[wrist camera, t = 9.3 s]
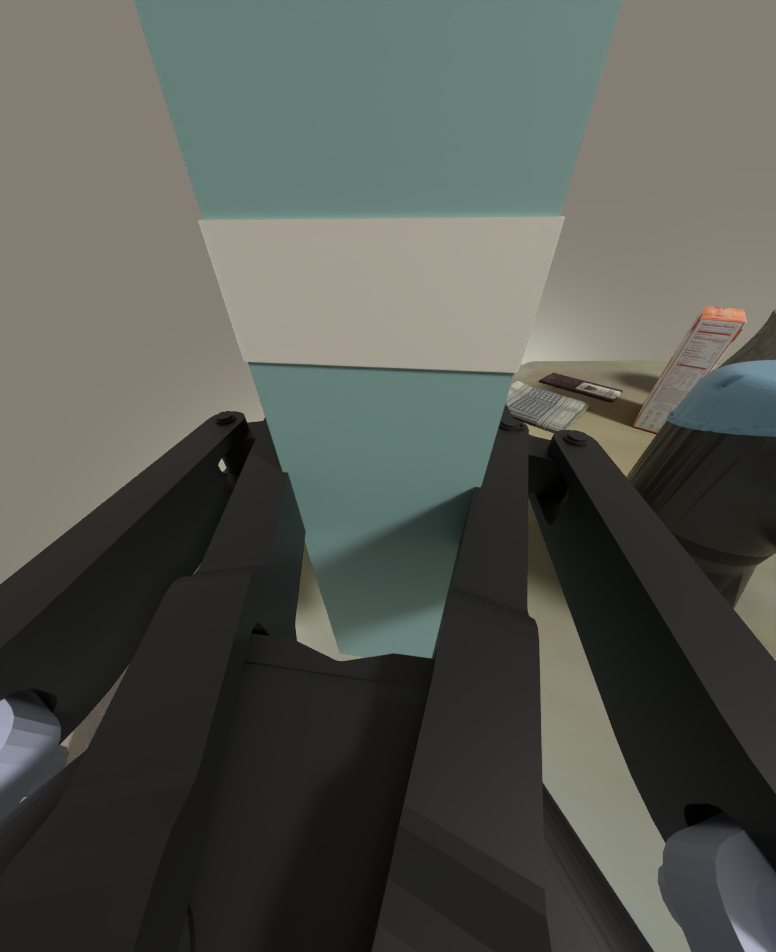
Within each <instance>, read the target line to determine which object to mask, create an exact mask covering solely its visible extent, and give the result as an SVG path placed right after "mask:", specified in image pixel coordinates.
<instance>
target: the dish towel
mask: <svg viewBox="0 0 776 952" xmlns="http://www.w3.org/2000/svg"><path fill="white" fill-rule="evenodd" d="M506 405H507V406H508V409H509V410H510V413H511V415H512V417H513V418H514V419H517V420H520V421H523V422H525V423H528V424H530V425H533V426H536V427H538V428H541V429H544V430H547V431H550V432H553V433H555V432H557V431H560V430H565V429H566V428H567V427H568V426H569V425H570V424H572V423H573V422H574V421H576V420H577V419H578V418H579V417H580V416H581V415H582V414H584V413H585V412H586V410H587V409H588V408H589V407H590V405H589V404H587V403H586V402H584V401H582V400H578V399H575V398H570V397H567V396H564V395H562V394H559V393H557V392H553V391H550V390H546V389H543V388H541V387H539V386H536V385H534V386H532V387H531V386H529V385H526V384H524V383H522V382H520V381H516V382H514V383H513V384H512V385H511V386H510V389H509V393H508V396H507V400H506Z"/></svg>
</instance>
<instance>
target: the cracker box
mask: <svg viewBox="0 0 776 952" xmlns="http://www.w3.org/2000/svg"><path fill="white" fill-rule="evenodd" d="M746 323H747V321H746V317H745V313H744V310H741V309H730V308H722V307H704V308H703V309H702V311H701V312H700V314H699V315H698V317H697V318H696V320H695V321H694V323H693V324H692V326H691V328H690V329H689V331H688V332H687V334H686V336H685V337H684V339H683V341H682V342H681V344H680V345H679V347H678V349H677V350H676V352H675V353H674V355H673V357H672V358H671V360H670V361H669V363H668V365H667V366H666V368H665V370H664V371H663V373H662V375H661V376H660V378H659V379H658V381H657V383H656V384H655V386H654V388H653V389H652V391H651V392H650V394H649V396H648V397H647V399H646V401H645V402H644V404H643V406H642V408H641V410H640V412H639V414H638V415H637V417H636V420H635V422H634V424H633V426H632V427H635V428H638V429H642V430H646V431H649V432H653V433H656V434H658V432H659V431H660V429H661V428H662V427H663V425H664V424H665V422H666V421H667V416H668V414H669V413H670V412H671V411H672V410H673V409H675V408H676V407H677V406H678V405H679V404H680V402H681V401H682V400H683V399H684V398H685V396H686V395H687V394H688V393H689V392H690V390H691V389H692V388H693V387H694V386H695V384H696V383H697V382H698V381H699V380H700V379H701V378H702V377H704V376H705V375H706V374H708V373H710V372H711V371H712V370H713V368H714V367H715V366H716V364H717V363H718V361H719V360H720V359H721V357H722V356H723V355H724V353H725V352H726V351H727V349H728V348H729V347H730V345H731V344H732V343H733V341H734V340H735V338H736V337H737V336H738V334H739V333H740V332H741V331H742V329H743V328H744V326H745V325H746Z"/></svg>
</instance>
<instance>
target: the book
mask: <svg viewBox="0 0 776 952" xmlns="http://www.w3.org/2000/svg"><path fill="white" fill-rule="evenodd" d="M622 2H623V0H134V3H135V6H136V9H137V12H138V15H139V19H140V22H141V25H142V28H143V31H144V34H145V37H146V41H147V44H148V47H149V50H150V53H151V57H152V59H153V63H154V66H155V69H156V72H157V75H158V79H159V82H160V85H161V88H162V91H163V94H164V98H165V101H166V104H167V107H168V110H169V114H170V117H171V120H172V123H173V126H174V129H175V133H176V136H177V139H178V142H179V145H180V148H181V152H182V155H183V158H184V161H185V164H186V167H187V170H188V174H189V177H190V180H191V183H192V186H193V190H194V193H195V196H196V199H197V202H198V205H199V208H200V212H201V215H202V218H203V220H198V222H199V225H200V228H201V231H202V234H203V237H204V240H205V243H206V247H207V250H208V253H209V256H210V259H211V262H212V265H213V268H214V271H215V274H216V277H217V281H218V284H219V287H220V290H221V293H222V296H223V299H224V302H225V305H226V308H227V311H228V314H229V317H230V320H231V324H232V326H233V330H234V333H235V336H236V339H237V342H238V345H239V348H240V351H241V354H242V357H243V361H244V362H248V364H249V367H250V370H251V373H252V376H253V379H254V383H255V386H256V389H257V392H258V395H259V398H260V402H261V405H262V408H263V411H264V414H265V417H266V421H267V424H268V427H269V430H270V433H271V436H272V440H273V443H274V446H275V449H276V452H277V455H278V459H279V462H280V465H281V468H282V471H283V472H288V474H289V478H290V481H291V484H292V488H293V491H294V494H295V498H296V501H297V504H298V508H299V511H300V514H301V518H302V521H303V524H304V528H305V531H306V534H305V544H306V547H307V550H308V554H309V557H310V560H311V563H312V566H313V569H314V573H315V576H316V579H317V582H318V585H319V588H320V592H321V595H322V598H323V601H324V604H325V607H326V611H327V614H328V617H329V620H330V623H331V626H332V630H333V633H334V636H335V639H336V642H337V645H338V649H339V652H340V654H348V655H355V656H362V657H374V656H380V655H386V654H392V653H396V654H403V655H411V656H418V657H425V658H431V657H432V654H433V650H434V647H435V643H436V639H437V635H438V631H439V627H440V622H441V618H442V614H443V610H444V606H445V601H446V597H447V593H448V589H449V585H450V580H451V576H452V572H453V568H454V564H455V559H456V555H457V551H458V547H459V543H460V539H461V536H462V532H463V528H464V525H465V521H466V517H467V514H468V510H469V506H470V502H471V499H472V495H473V491H474V488H475V487H481V485H482V482H483V479H484V475H485V472H486V468H487V465H488V461H489V458H490V455H491V451H492V448H493V444H494V441H495V437H496V434H497V431H498V427H499V424H500V420H501V417H502V413H503V410H504V407H505V403H506V400H507V396H508V393H509V389H510V386H511V383H512V379H513V376H514V373H518V372H519V369H520V365H521V362H522V358H523V355H524V352H525V349H526V345H527V342H528V339H529V335H530V332H531V329H532V325H533V322H534V319H535V315H536V312H537V308H538V305H539V302H540V299H541V295H542V292H543V289H544V285H545V282H546V278H547V275H548V272H549V268H550V265H551V262H552V259H553V255H554V252H555V249H556V245H557V242H558V239H559V236H560V232H561V229H562V225H563V222H564V219H565V217H560V214H561V211H562V207H563V204H564V201H565V197H566V194H567V190H568V187H569V183H570V180H571V176H572V173H573V170H574V166H575V163H576V159H577V156H578V152H579V149H580V146H581V142H582V139H583V135H584V132H585V128H586V125H587V121H588V118H589V114H590V111H591V108H592V105H593V101H594V97H595V94H596V91H597V87H598V84H599V80H600V77H601V73H602V70H603V67H604V63H605V60H606V56H607V53H608V50H609V46H610V43H611V39H612V36H613V32H614V29H615V26H616V22H617V19H618V15H619V12H620V8H621V4H622Z"/></svg>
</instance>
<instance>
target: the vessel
mask: <svg viewBox="0 0 776 952" xmlns="http://www.w3.org/2000/svg"><path fill="white" fill-rule="evenodd" d="M760 360H776V310H774V311H773V312H772V314H771V315H770V317H769V319H768V321H767V322H766V323H765V324H764V326H763V327H762V328H761V329H760V330H759V331H758V333H757V334H756V335H755V336H754V337H753V338H752V339H751V340H750V341H749V342H748V343H747V344H746V345H744V346H743V347H742V348H741V349H740V350H739V351H737V352H736V353H735V354H734V355H733V356H732V357H730V358H729V359H728V360H727V361H726V362H725V363H723V364H722V365H721V366H720V367H723V366H727V365H730V364H735V363H741V362H748V361H760ZM720 367H718V368H720ZM718 368H717V369H718Z"/></svg>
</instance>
